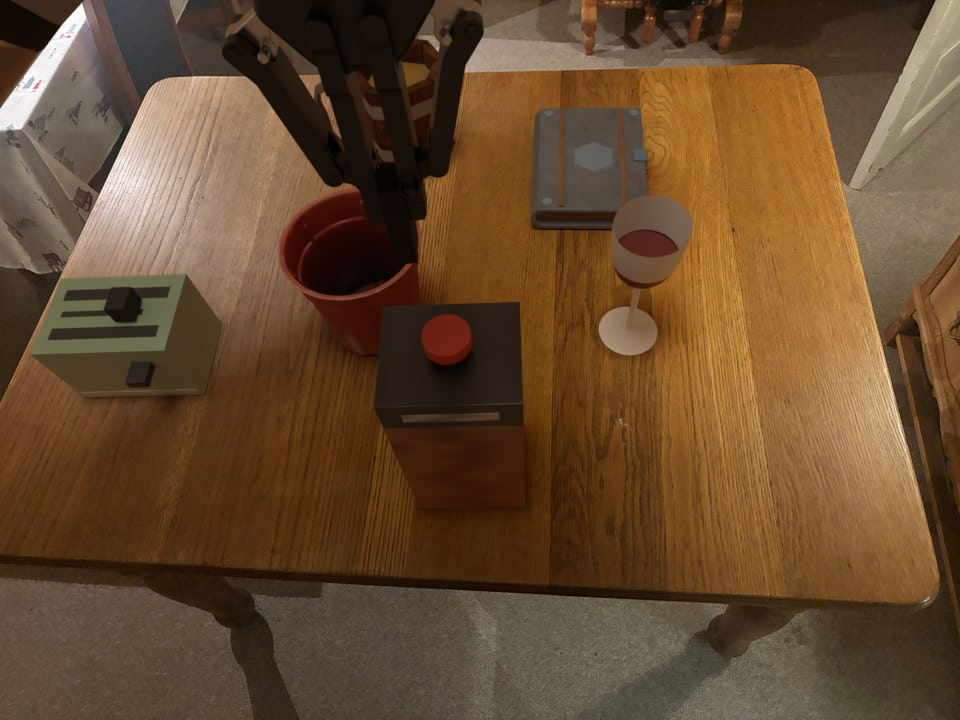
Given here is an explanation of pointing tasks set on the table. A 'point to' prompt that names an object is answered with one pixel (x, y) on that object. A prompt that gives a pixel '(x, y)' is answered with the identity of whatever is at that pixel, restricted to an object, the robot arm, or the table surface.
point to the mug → (420, 90)
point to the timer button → (446, 339)
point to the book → (586, 166)
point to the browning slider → (122, 304)
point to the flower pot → (347, 268)
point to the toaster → (129, 338)
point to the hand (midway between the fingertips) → (407, 248)
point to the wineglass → (643, 265)
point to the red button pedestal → (455, 407)
